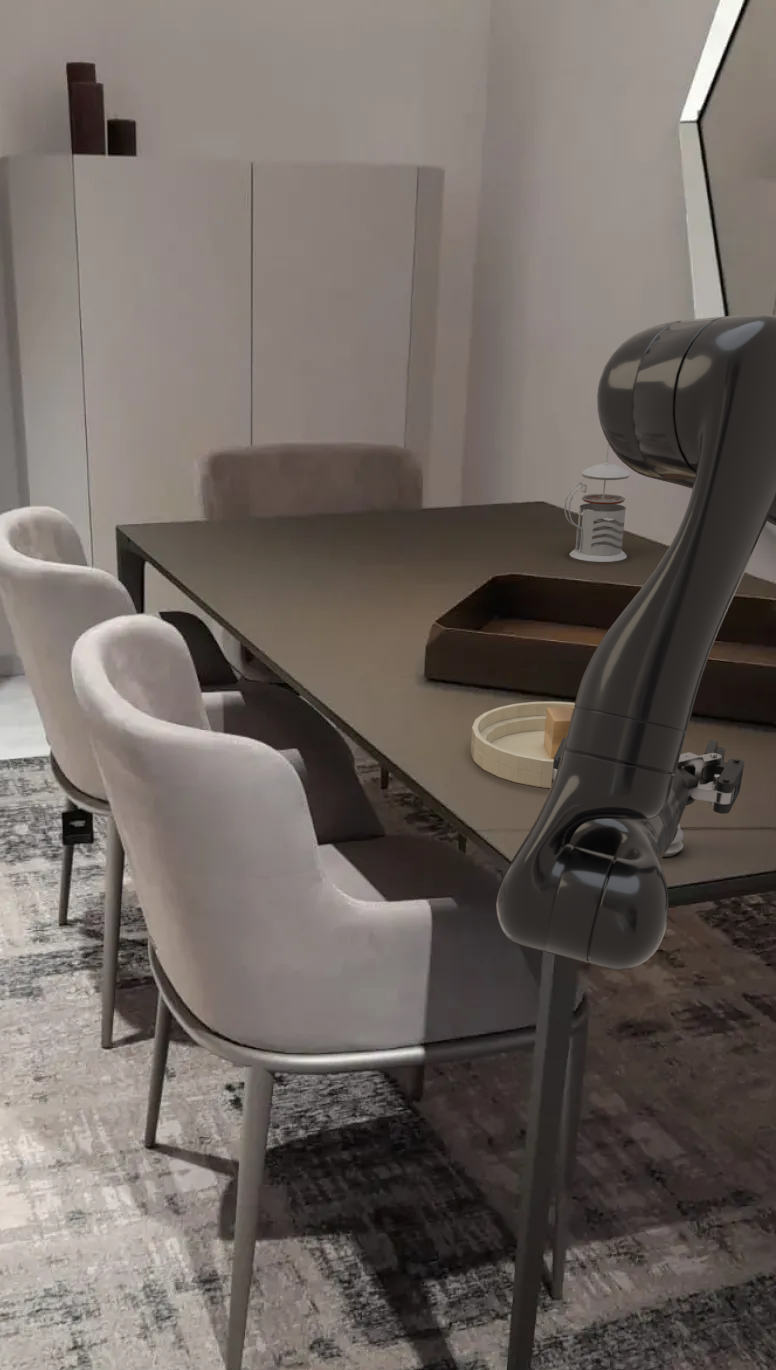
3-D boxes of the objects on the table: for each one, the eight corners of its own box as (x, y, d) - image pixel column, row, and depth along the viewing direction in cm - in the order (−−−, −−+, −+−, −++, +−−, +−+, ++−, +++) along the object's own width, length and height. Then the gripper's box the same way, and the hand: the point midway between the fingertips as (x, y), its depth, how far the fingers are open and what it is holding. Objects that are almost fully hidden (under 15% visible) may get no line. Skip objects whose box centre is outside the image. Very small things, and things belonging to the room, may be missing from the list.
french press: (637, 559, 233) (654, 405, 222) (574, 564, 231) (588, 408, 220) (611, 547, 242) (625, 398, 231) (550, 551, 239) (562, 401, 228)
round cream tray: (627, 729, 158) (630, 700, 157) (670, 793, 141) (674, 761, 140) (461, 731, 158) (462, 702, 157) (483, 794, 141) (485, 763, 140)
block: (583, 745, 152) (587, 706, 150) (592, 760, 148) (596, 720, 146) (543, 745, 152) (546, 707, 150) (550, 760, 148) (554, 720, 146)
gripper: (734, 779, 96) (755, 712, 110) (534, 752, 101) (578, 691, 115) (719, 875, 100) (741, 799, 113) (526, 844, 105) (569, 775, 118)
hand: (659, 744), depth 114 cm, fingers open, 8 cm apart
